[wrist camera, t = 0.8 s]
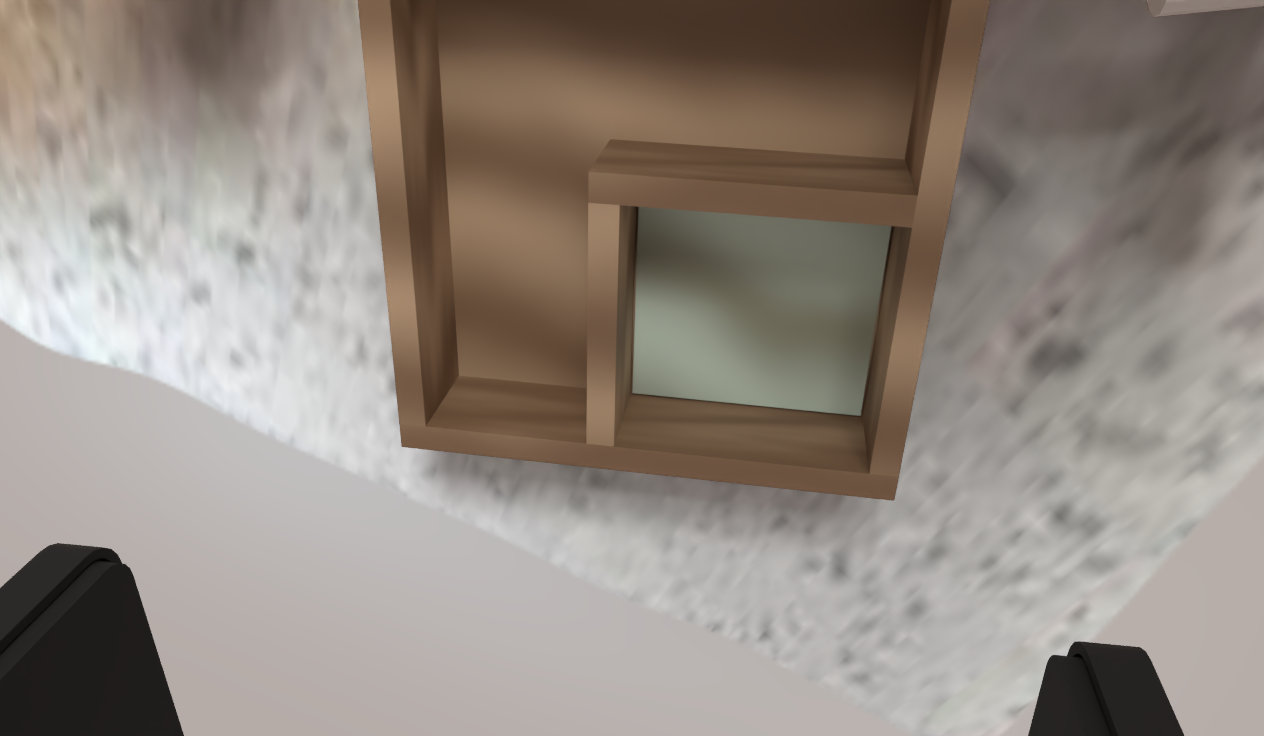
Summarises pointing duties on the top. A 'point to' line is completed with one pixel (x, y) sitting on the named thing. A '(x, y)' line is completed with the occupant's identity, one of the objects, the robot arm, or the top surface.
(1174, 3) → the pipe connector
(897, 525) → the top surface
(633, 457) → the walled box
